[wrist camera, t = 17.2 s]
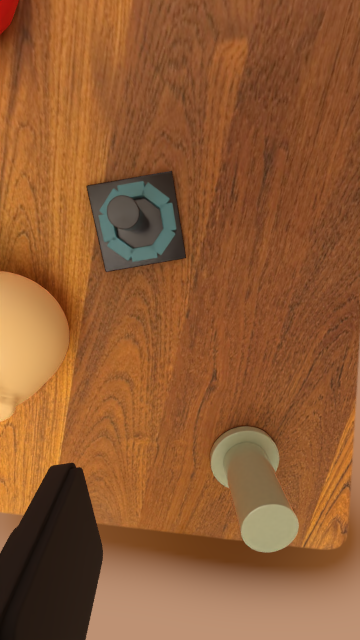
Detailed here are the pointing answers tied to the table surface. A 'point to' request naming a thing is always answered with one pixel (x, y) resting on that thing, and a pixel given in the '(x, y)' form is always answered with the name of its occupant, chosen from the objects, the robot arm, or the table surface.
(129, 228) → the black peg stand
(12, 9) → the tomato
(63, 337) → the sculpture
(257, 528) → the ring stand
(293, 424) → the table surface
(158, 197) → the ring
